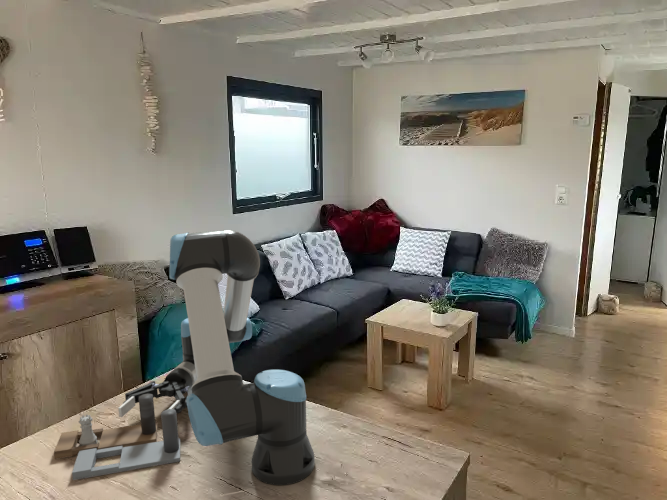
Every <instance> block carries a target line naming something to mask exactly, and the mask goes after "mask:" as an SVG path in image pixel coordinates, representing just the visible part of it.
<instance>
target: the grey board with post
mask: <svg viewBox="0 0 667 500" xmlns="http://www.w3.org/2000/svg"><path fill="white" fill-rule="evenodd" d="M160 416H161V417H160V418H161V428H162V440H159V441H157V442H153V443H147V444H141V445H135V446H128V447H123V446H117V447H111V448H105V449H99V450H97V448H94V449H88V450H82V451H79V453H78V455H77V456H76V459H75V462H74V465H73V469H72V471H71V476H72V481H76V480H83V479H87V478H88V479H89V478H92V477H93V478H94V477H99V476H105V475H111V474H116V473H123V472H127V471H133V470H138V469H144V468H149V467H150V468H151V467H156V466H161V465H166V464H172V463H177V462H178V463H179V462H181V438H180V437H179V431H178V430H179V428H178V419H177V418H178V416H177V414H176V410H174V409H169V408H168V409H165V410H163V411H162V412H161V413H160ZM119 455H120V459H119V462H116V463H109V464H104V465H99V466H96V462H97V459H103V458H109V457H115V456H119Z"/></svg>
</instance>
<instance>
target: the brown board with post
mask: <svg viewBox="0 0 667 500" xmlns="http://www.w3.org/2000/svg"><path fill="white" fill-rule="evenodd" d="M138 405H139V406H138V407H139V416H140V417H139V418H140V423H139V424H134V425H133V424H132V425H126V426H122V427H115V428H107V429H104V428H103V427H101V428H96V429H92V430H93V433H94V434H95V436H97V438H99V437H100V440H99V443H98V442H97V444H92V445H85V446H79V445H78V446H77V444H78V443H79V440H80V437H81V435H82V431H79V430H71V431H66V432H61V433H60V436H59V438H58V441H57V443H56V446H55V449H54V451H53V455H54V460H57V459H63V458H69V457H70V458H71V457H77V456H78V453H79V451H82V450H88V449H94V448H97V450H99V449H105V448H111V447H117V446H123V447H128V446H135V445H141V444H147V443H153V442H158V427H159V422H158V421H156V415H155V414H156V413H155V404H154V398H153V395H152V394H143V395H141V396H139V402H138Z"/></svg>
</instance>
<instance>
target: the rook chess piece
mask: <svg viewBox="0 0 667 500" xmlns="http://www.w3.org/2000/svg"><path fill="white" fill-rule="evenodd" d="M92 422H93V417H91V414H85V415H82V416H80V417H79V421H78V423H79V424H80V429H81V432H82V435H81V437H80V440H78V447H79V446H85V445H92V444H98V437H97V436H95V434H94V433H93V430H94V429H93V427H92V426H93V423H92Z"/></svg>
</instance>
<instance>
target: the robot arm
mask: <svg viewBox="0 0 667 500" xmlns="http://www.w3.org/2000/svg"><path fill="white" fill-rule="evenodd" d="M169 243H170V244H169V245H170V246H169V276H168V277H169V279H170V280H174V281H175V282H176V286H177V287H178V288H179V289H182V290H183V293H184V300H185V307H186V314H187V318H185V319H183V320H182V321H181V324H180V339H181V346H182V347H181V349H182V362H181V363H180V364H178V365H177V366H176V367H175V368H174V369H173V370H171V371H170V372H169V373H168V374H167V375H166V376H165V377H164V380H163V381H162V382H160V383H156V381H155V380H151V381H150V382H149V383H147V384H144V385H142V386H140V387H137V388H135V389H133V390H131V391H128V392H125V394H124V398H125V401H123V402H122V404H121V405H120V406H118V407H117V409H118V417H119V418H123V417H124V416H125V415H126V414H128V412H130V411H131V410H132V409H133V408H134V407H135V406H136V404H139V396H141V395H143V394H152V395H153V399H154V398H155V399H159V398H162V397H168V398H173V397H174V398H175V402H174V403H173V404H172V405H171V406H170V407H169V408H168V409H174V410H176V415H177V414H180V413H181V412H182V411H183V410H184V409H186V408H187V411H188V417H189V421H190V425H191V429H192V431H193V434H194V436H195V440H196V442H198V444H199V445H201V446H204V447H210V446H215V445H223V444H224V443H229V442H232V441H237V440H242V439H246V438H251V437H255V436H257V439H256V442H255V443H256V444H255V447H254V450H253V453H252V456H251V471H252V473H253V475H254V477H255V478H256V479H257V480H259V481H260V482H263V483H265V484H269V485H275V486H285V485H291V484H294V483H298V482H300V481H302V480H305V478H307V477H308V476H309V475H311V473H312V472H313V471H314V468H315V465H316V464H315V461H316V460H315V451H314V449H313V447H312V444H311V442H310V440H309V437H308V434H307V393H306V392H307V391H306V385H305V382H304V379H303V378H302V377H301V376H300V375H298V374H297V373H294V372H293V371H289V370H285V369H266V370H263V371H261V372H259V373H257V374H256V375H255V377H254V380H253V381H254V382H251V383H245V384H244V381H243V377H242V375H241V374H239V373H238V372H236V371H235V369H234V364H233V358H232V352H231V347H230V344H233V343H241V342H244V341H246V340H247V341H248V340H250V339H251V338H253V337H252V336H253V327H252V322H251V319H250V318H249V317H248V315H249V309H250V303H251V297H252V293H253V292H252V291H253V286H254V281H255V279H256V278H257V276H258V275H259V272H260V267H261V258H260V254H259V252H258V250H257V248H256V246H255V244H254V243H253V242H252V241H251V240H250V238H249V237H247V236H246V235H244V234H243V233H241V232H239V231H236V230H232V229H223V230H216V231H215V230H212V231H211V230H210V231H202V232H201V231H200V232H191V233H190V232H183V233H178V234H174V235H173V236H171V238H170V242H169ZM223 274H226V275H227V280H226V289H225V298H224V306H223V305H222V299H221V293H220V288H219V283H220V282H221V281H222V280H223V278H224V277H223ZM186 393H187V396H184V394H186Z"/></svg>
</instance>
